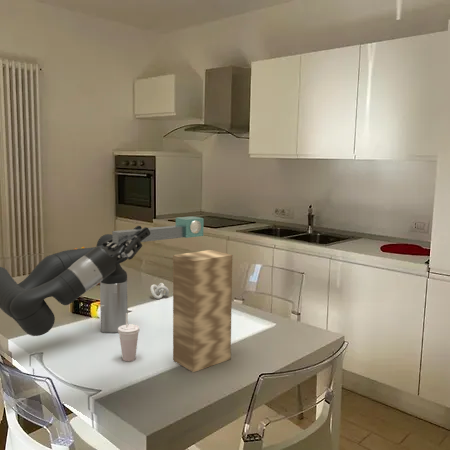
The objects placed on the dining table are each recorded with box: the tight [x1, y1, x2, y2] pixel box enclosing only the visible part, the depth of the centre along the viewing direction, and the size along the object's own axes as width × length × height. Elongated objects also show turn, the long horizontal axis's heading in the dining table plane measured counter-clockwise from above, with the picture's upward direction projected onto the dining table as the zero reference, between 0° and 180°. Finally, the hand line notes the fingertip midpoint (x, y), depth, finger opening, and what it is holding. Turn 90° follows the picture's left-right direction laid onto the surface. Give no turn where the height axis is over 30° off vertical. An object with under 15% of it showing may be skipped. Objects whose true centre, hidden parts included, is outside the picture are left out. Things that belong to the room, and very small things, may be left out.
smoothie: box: [117, 313, 141, 362], centre depth 141 cm, size 6×6×14 cm
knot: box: [149, 282, 170, 300], centre depth 205 cm, size 8×8×6 cm
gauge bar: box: [112, 216, 205, 244], centre depth 127 cm, size 26×6×5 cm, turn 131°
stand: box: [172, 249, 233, 373], centre depth 140 cm, size 14×10×32 cm
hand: (144, 229), depth 124 cm, fingers closed on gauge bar, 3 cm apart
